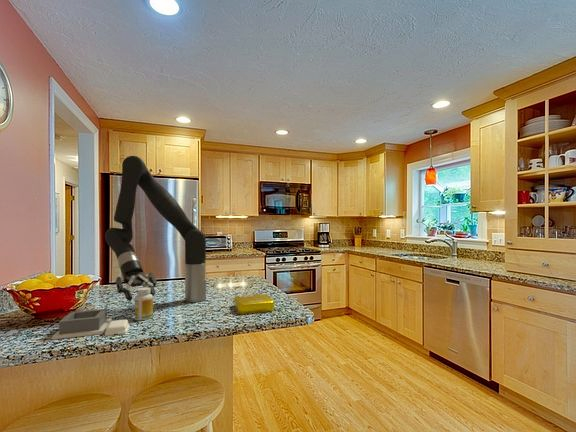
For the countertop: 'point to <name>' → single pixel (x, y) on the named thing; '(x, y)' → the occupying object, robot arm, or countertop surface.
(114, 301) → the countertop surface
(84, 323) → the pocket plate
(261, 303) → the element tile
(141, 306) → the supplement bottle
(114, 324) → the soap
